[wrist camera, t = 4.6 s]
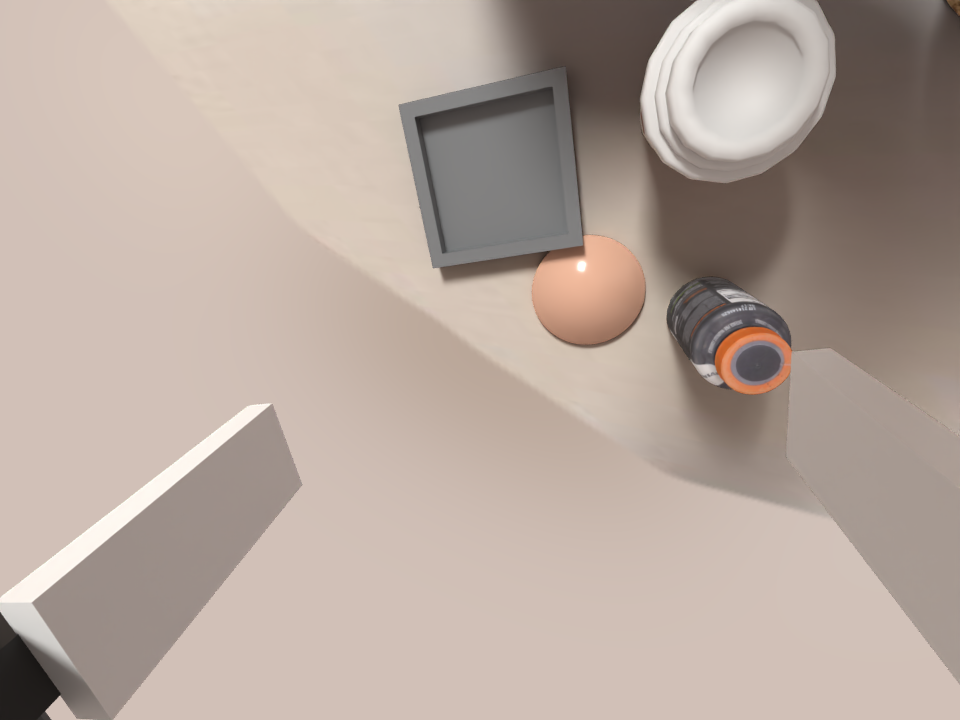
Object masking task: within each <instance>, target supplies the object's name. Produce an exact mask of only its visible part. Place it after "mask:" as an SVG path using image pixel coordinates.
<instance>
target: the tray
mask: <svg viewBox="0 0 960 720" xmlns="http://www.w3.org/2000/svg"><path fill="white" fill-rule="evenodd" d="M399 110H400V115H401V120H402V124H403V129H404V134H405V138H406V143H407V148H408V153H409V157H410V162H411V167H412V172H413V176H414V181H415V186H416V190H417V195H418V200H419V205H420V209H421V214H422V219H423V224H424V228H425V233H426V238H427V242H428V247H429V252H430V257H431V261H432V266H433V268H439V267H445V266H452V265H458V264H465V263H471V262H478V261H484V260H491V259H498V258H504V257H511V256H517V255H524V254H530V253H537V252H543V251H550V250H557V249H563V248H570V247H576V246H583V238H582V228H581V217H580V207H579V197H578V187H577V177H576V167H575V156H574V146H573V136H572V126H571V116H570V106H569V95H568V85H567V75H566V66H563V67H559V68H555V69H550V70H546V71H542V72H537V73H533V74H529V75H525V76H520V77H516V78H512V79H507V80H503V81H499V82H494V83H490V84H486V85H481V86H477V87H473V88H468V89H464V90H460V91H456V92H451V93H447V94H443V95H438V96H434V97H430V98H425V99H421V100H417V101H412V102H408V103H404V104H399Z"/></svg>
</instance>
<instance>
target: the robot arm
mask: <svg viewBox="0 0 960 720" xmlns="http://www.w3.org/2000/svg"><path fill="white" fill-rule="evenodd" d="M786 458H787V459H788V461H789V462H790V463H791V464H792V466H793V467H794V468H795V470H796V471H797V472H798V474H799V475H800V476H801V478H802V479H803V480H804V481H805V483H806V484H807V485H808V487H809V488H810V489H811V491H812V492H813V493H814V495H815V496H816V497H817V498H818V500H819V501H820V502H821V504H822V505H823V506H824V508H825V509H826V510H827V512H828V513H829V514H830V515H831V517H832V518H833V519H834V521H835V522H836V523H837V525H838V526H839V527H840V529H841V530H842V531H843V532H844V534H845V535H846V536H847V538H848V539H849V540H850V542H851V543H852V544H853V545H854V546H855V548H856V549H857V551H858V552H859V553H860V555H861V556H862V557H863V559H864V560H865V561H866V563H867V564H868V565H869V566H870V568H871V569H872V570H873V572H874V573H875V574H876V575H877V577H878V578H879V580H880V581H881V582H882V583H883V585H884V586H885V587H886V589H887V590H888V591H889V593H890V594H891V595H892V597H893V598H894V599H895V600H896V602H897V603H898V604H899V605H900V607H901V608H902V610H903V611H904V612H905V614H906V615H907V616H908V617H909V619H910V620H911V621H912V623H913V624H914V625H915V627H916V628H917V629H918V630H919V632H920V633H921V634H922V636H923V637H924V638H925V640H926V641H927V642H928V644H929V645H930V646H931V647H932V649H933V650H934V651H935V652H936V654H937V655H938V657H939V658H940V659H941V660H942V662H943V663H944V664H945V666H946V667H947V668H948V670H949V671H950V672H951V673H952V675H953V676H954V677H955V679H956V680H957V681H958V683H959V684H960V436H959V435H957V434H956V433H954V432H953V431H951V430H950V429H948V428H947V427H946V426H944V425H943V424H941V423H940V422H938V421H937V420H935V419H934V418H932V417H931V416H929V415H928V414H927V413H925V412H924V411H922V410H921V409H919V408H918V407H916V406H915V405H913V404H912V403H910V402H909V401H907V400H906V399H905V398H903V397H902V396H900V395H899V394H897V393H896V392H894V391H893V390H891V389H890V388H888V387H887V386H886V385H884V384H883V383H881V382H880V381H878V380H877V379H875V378H874V377H872V376H871V375H869V374H868V373H867V372H865V371H864V370H862V369H861V368H859V367H858V366H856V365H855V364H853V363H852V362H850V361H849V360H848V359H846V358H845V357H843V356H842V355H840V354H839V353H837V352H836V351H834V350H833V349H831V348H823V349H813V350H803V351H793V352H792V354H791V372H790V389H789V407H788V425H787V443H786ZM301 486H302V483H301V480H300V477H299V475H298V472H297V469H296V466H295V464H294V461H293V458H292V456H291V453H290V450H289V447H288V445H287V442H286V439H285V437H284V434H283V431H282V429H281V426H280V423H279V421H278V418H277V415H276V412H275V410H274V407H273V404H272V403H270V404H261V405H250V406H247V407H246V408H245V409H243V410H242V411H241V412H240V413H238V414H237V415H236V416H234V417H233V418H232V419H230V420H229V421H228V422H227V423H225V424H224V425H223V426H221V427H220V428H219V429H217V430H216V431H215V432H214V433H213V434H211V435H210V436H208V437H207V438H206V439H205V440H203V441H202V442H201V443H199V444H198V445H197V446H195V447H194V448H193V449H192V450H190V451H189V452H188V453H186V454H185V455H184V456H183V457H181V458H180V459H179V460H177V461H176V462H175V463H173V464H172V465H171V466H170V467H168V468H167V469H166V470H164V471H163V472H162V473H161V474H159V475H158V476H157V477H155V478H154V479H153V480H151V481H150V482H149V483H148V484H146V485H145V486H144V487H142V488H141V489H140V490H139V491H137V492H136V493H135V494H133V495H132V496H131V497H129V498H128V499H127V500H126V501H124V502H123V503H122V504H120V505H119V506H118V507H117V508H115V509H114V510H113V511H111V512H110V513H109V514H108V515H106V516H105V517H104V518H102V519H101V520H100V521H98V522H97V523H96V524H95V525H93V526H92V527H91V528H89V529H88V530H87V531H85V532H84V533H83V534H82V535H80V536H79V537H78V538H77V539H75V540H74V541H73V542H71V543H70V544H69V545H68V546H66V547H65V548H63V549H62V550H61V551H60V552H58V553H57V554H56V555H55V556H53V557H52V558H51V559H49V560H48V561H47V562H45V563H44V564H43V565H42V566H40V567H39V568H38V569H36V570H35V571H34V572H33V573H31V574H30V575H29V576H27V577H26V578H25V579H23V580H22V581H21V582H19V583H18V584H17V585H16V586H14V587H13V588H12V589H10V590H9V591H8V592H7V593H5V594H4V595H3V596H2V597H0V720H51V719H50V717H49V716H48V715H47V713H46V712H45V711H46V709H47V708H48V707H49V706H50V705H51V704H52V703H53V702H54V701H55V700H56V699H57V698H58V697H59V696H61V697H62V698H63V700H64V701H65V703H66V704H67V705H68V707H69V708H70V710H71V711H72V712H73V714H74V715H75V717H76V718H79V719H93V720H113V719H114V718H115V716H116V715H117V714H118V713H119V711H120V710H121V709H122V707H123V706H124V705H125V704H126V702H127V701H128V700H129V699H130V698H131V696H132V695H133V694H134V693H135V692H136V690H137V689H138V688H139V687H140V685H141V684H142V683H143V681H144V680H145V679H146V678H147V677H148V675H149V674H150V673H151V672H152V670H153V669H154V668H155V667H156V665H157V664H158V663H159V662H160V660H161V659H162V658H163V657H164V655H165V654H166V653H167V652H168V651H169V649H170V648H171V647H172V646H173V644H174V643H175V642H176V641H177V639H178V638H179V637H180V636H181V634H182V633H183V632H184V631H185V630H186V628H187V627H188V626H189V624H190V623H191V622H192V621H193V620H194V618H195V617H196V616H197V615H198V613H199V612H200V611H201V610H202V608H203V607H204V606H205V605H206V603H207V602H208V601H209V600H210V598H211V597H212V596H213V595H214V594H215V592H216V591H217V589H219V587H220V586H221V585H222V584H223V582H224V581H225V580H226V579H227V578H228V576H229V575H230V574H231V572H232V571H233V570H234V569H235V568H236V566H237V565H238V564H239V563H240V561H241V560H242V559H243V558H244V556H245V555H246V554H247V553H248V551H249V550H250V549H251V548H252V547H253V545H254V544H255V543H256V541H257V540H258V539H259V538H260V537H261V535H262V534H263V533H264V532H265V530H266V529H267V528H268V527H269V525H270V524H271V523H272V521H273V520H274V519H275V518H276V517H277V516H278V514H279V513H280V512H281V511H282V509H283V508H284V507H285V506H286V504H287V503H288V502H289V501H290V499H291V498H292V497H293V496H294V494H295V493H296V492H297V491H298V490H299V488H300V487H301Z"/></svg>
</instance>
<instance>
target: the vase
mask: <svg viewBox="0 0 960 720" xmlns="http://www.w3.org/2000/svg"><path fill="white" fill-rule="evenodd" d="M947 2H948V4H949V5H950V6H951V8H952V9H953V10H954V11H955V12H956V13H957V14H958V15H959V16H960V0H947Z"/></svg>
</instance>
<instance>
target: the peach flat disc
mask: <svg viewBox="0 0 960 720" xmlns="http://www.w3.org/2000/svg"><path fill="white" fill-rule="evenodd" d="M582 238H583V246H576V247H570V248H563V249H557V250H551V251H550V252H548V254H547V255H546V256H545V257H544V258H543V260H542V261H541V263H540V264H539V266H538V268H537V270H536V273H535V276H534V280H533V285H532V301H533V305H534V309H535V311H536V314H537V316H538V318H539V319H540V321H541V322H542V324H543V325H544V326H545V327H546V328H547V329H548V330H549V331H550V332H551V333H552V334H554V335H555V336H557V337H558V338H560V339H563V340H565V341H568V342H571V343H575V344H584V345H587V344H597V343H602V342H605V341H608V340H610V339H612V338H614V337H616V336H618V335H620V334H621V333H622V332H624V331H625V330H626V329H627V328H628V327H629V326H630V325H631V324H632V323H633V321H634V320H635V319H636V317H637V316H638V314H639V312H640V310H641V308H642V305H643V302H644V297H645V278H644V274H643V271H642V268H641V266H640V264H639V262H638V261H637V259H636V257H635V256H634V255H633V254H632V253H631V252H630V250H628V249H627V248H626V247H625V246H624V245H622V244H621V243H619V242H617V241H615V240H613V239H611V238H608V237H605V236H599V235H582Z"/></svg>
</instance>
